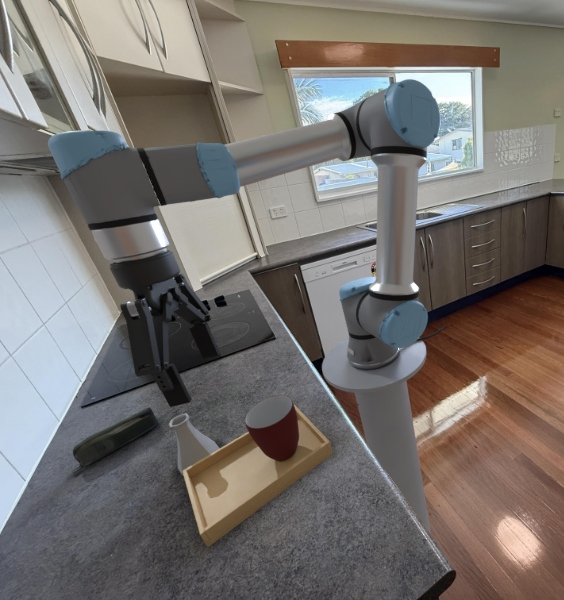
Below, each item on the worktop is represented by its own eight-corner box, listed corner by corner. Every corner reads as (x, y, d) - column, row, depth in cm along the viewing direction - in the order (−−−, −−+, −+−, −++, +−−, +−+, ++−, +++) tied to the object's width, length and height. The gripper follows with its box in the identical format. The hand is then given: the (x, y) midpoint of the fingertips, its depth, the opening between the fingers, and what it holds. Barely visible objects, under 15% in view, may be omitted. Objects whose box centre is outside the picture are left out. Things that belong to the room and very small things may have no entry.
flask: (219, 437, 65) (201, 400, 61) (221, 461, 59) (200, 422, 55) (179, 456, 62) (157, 417, 58) (177, 483, 56) (152, 442, 52)
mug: (246, 454, 59) (227, 414, 55) (282, 425, 65) (267, 386, 61) (280, 479, 53) (261, 435, 49) (316, 444, 59) (302, 403, 55)
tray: (297, 414, 68) (294, 404, 67) (333, 453, 57) (329, 441, 56) (188, 482, 56) (182, 470, 55) (208, 547, 45) (200, 534, 44)
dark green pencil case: (148, 404, 72) (58, 451, 61) (152, 408, 70) (60, 457, 59) (157, 421, 73) (71, 469, 63) (161, 425, 72) (74, 476, 61)
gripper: (154, 243, 55) (200, 346, 63) (36, 288, 33) (132, 439, 41) (200, 235, 56) (239, 337, 65) (116, 274, 34) (193, 423, 42)
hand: (198, 377), depth 53 cm, fingers open, 13 cm apart
